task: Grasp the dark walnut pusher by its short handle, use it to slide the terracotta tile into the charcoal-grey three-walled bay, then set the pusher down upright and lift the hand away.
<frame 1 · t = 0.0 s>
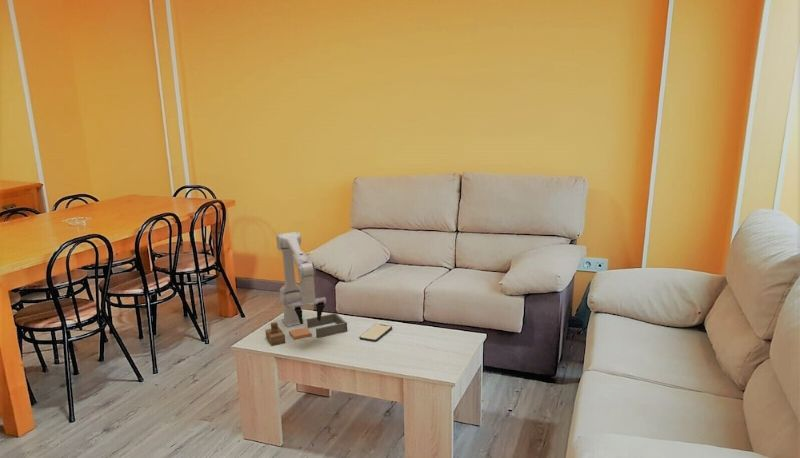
hand: (310, 321, 248), 10 cm above the table, tool pointing down, fingers open, 7 cm apart
pusher: (275, 340, 255), on the table
tile: (300, 336, 260), on the table
phone case: (376, 335, 258), on the table
bay: (327, 329, 265), on the table
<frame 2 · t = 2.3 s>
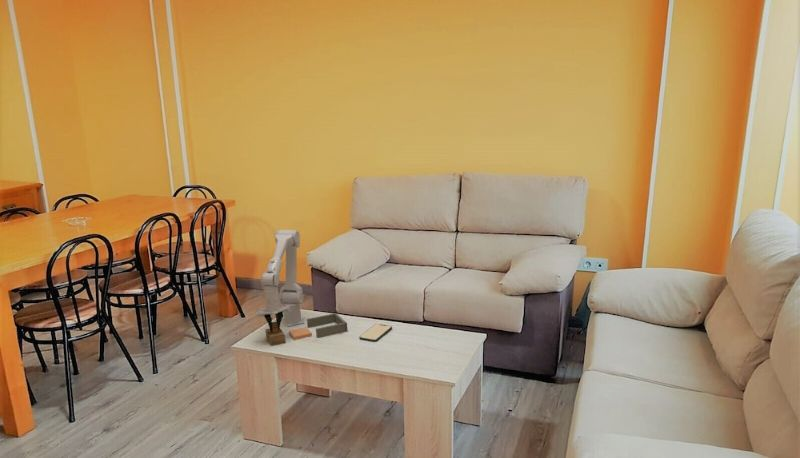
hand: (274, 329, 254), 5 cm above the table, tool pointing down, fingers closed on pusher, 2 cm apart
pusher: (275, 340, 255), on the table, touching gripper
everything else where it was.
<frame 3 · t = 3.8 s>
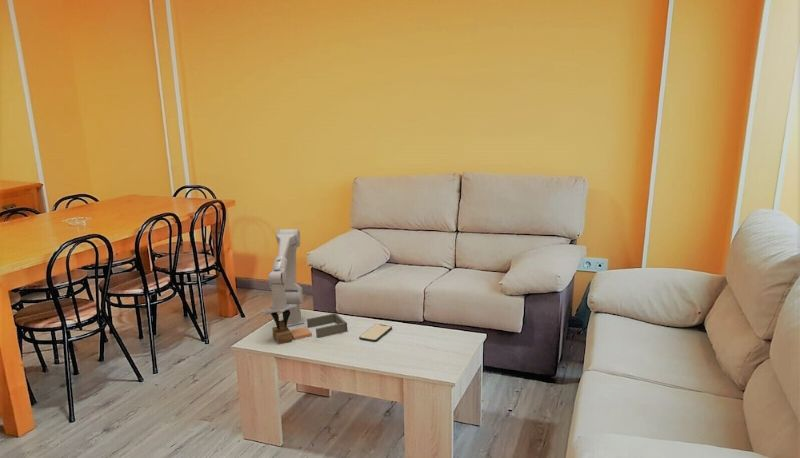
hand: (281, 327, 255), 5 cm above the table, tool pointing down, fingers closed on pusher, 2 cm apart
pusher: (282, 338, 257), on the table, touching gripper
everything else where it was.
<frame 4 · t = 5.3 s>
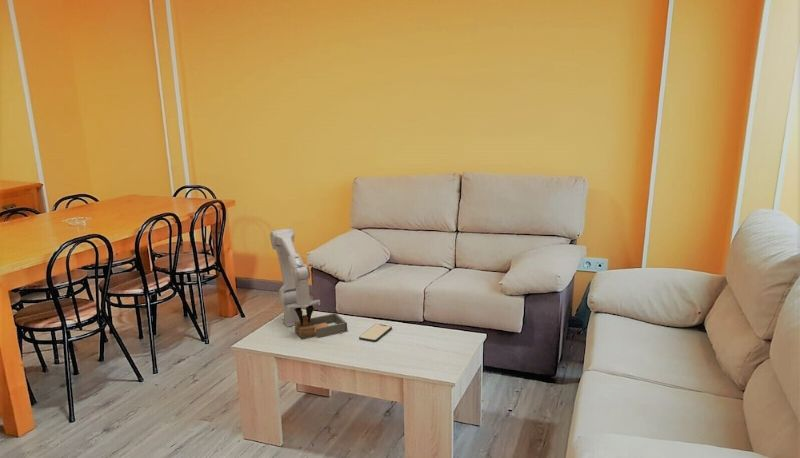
hand: (305, 322, 260), 5 cm above the table, tool pointing down, fingers closed on pusher, 3 cm apart
pusher: (304, 333, 261), on the table, touching gripper, tile
tile: (320, 331, 264), on the table, touching pusher
everything else where it was.
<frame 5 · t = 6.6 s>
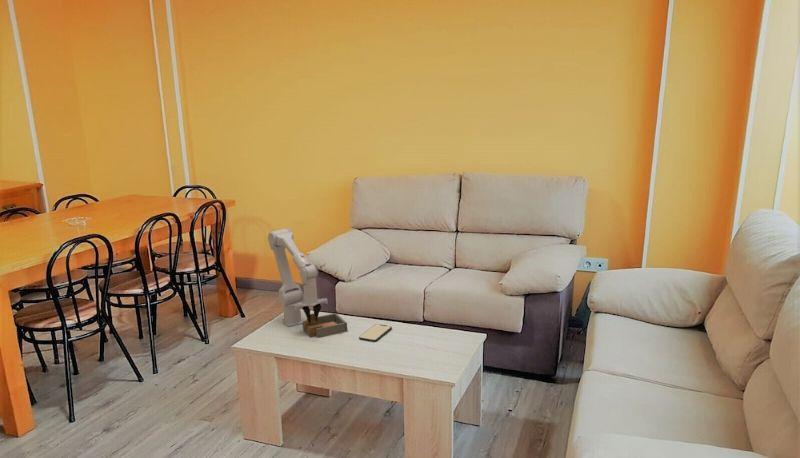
hand: (312, 321, 261), 5 cm above the table, tool pointing down, fingers closed on pusher, 2 cm apart
pusher: (312, 332, 262), on the table, touching gripper
tile: (328, 330, 265), on the table
everything else where it was.
when the fingers open (5 cm above the table, at t = 8.5 s): pusher stays where it is, on the table.
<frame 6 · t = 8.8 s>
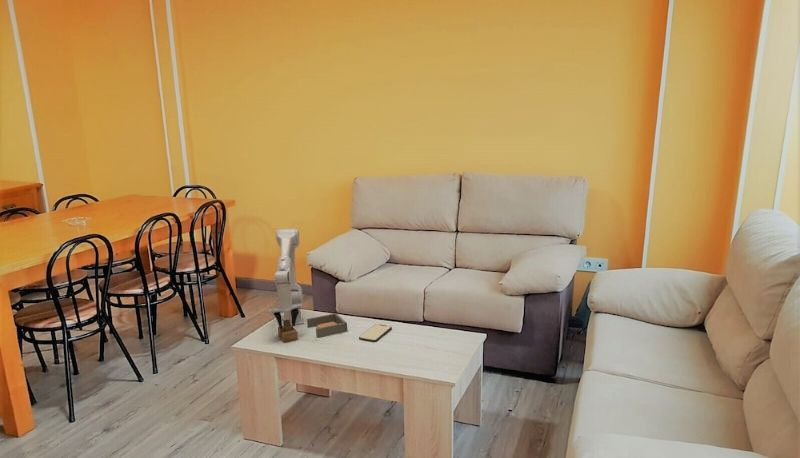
hand: (287, 326, 256), 5 cm above the table, tool pointing down, fingers open, 5 cm apart
pusher: (288, 338, 258), on the table
everything else where it was.
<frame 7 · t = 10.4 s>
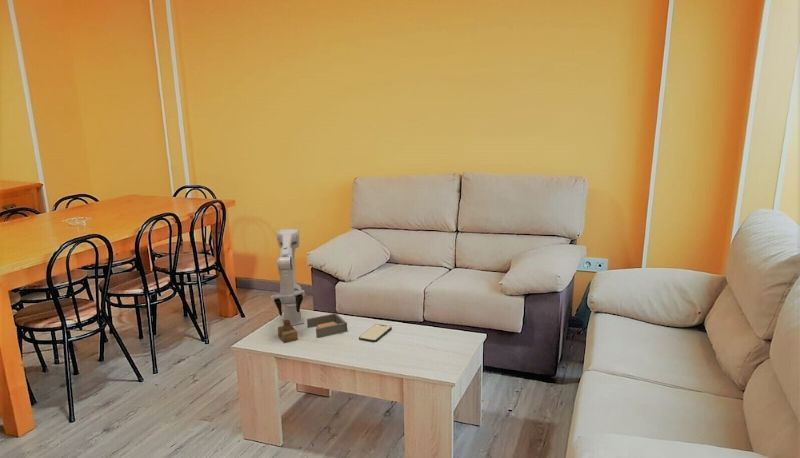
hand: (289, 313, 258), 10 cm above the table, tool pointing down, fingers open, 7 cm apart
nothing on the table moved.
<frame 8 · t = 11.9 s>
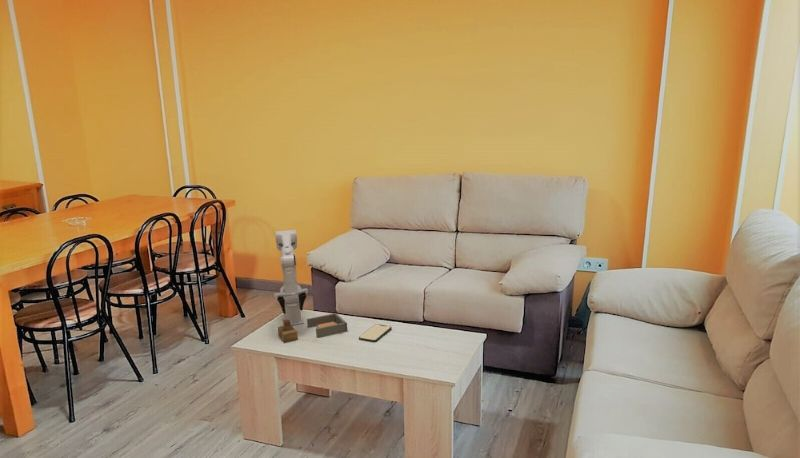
hand: (292, 311, 259), 10 cm above the table, tool pointing down, fingers open, 7 cm apart
nothing on the table moved.
at the end: tile inside the target area (0.2 cm from its centre), on the table; pusher touching table; pusher tilted 0° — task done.
